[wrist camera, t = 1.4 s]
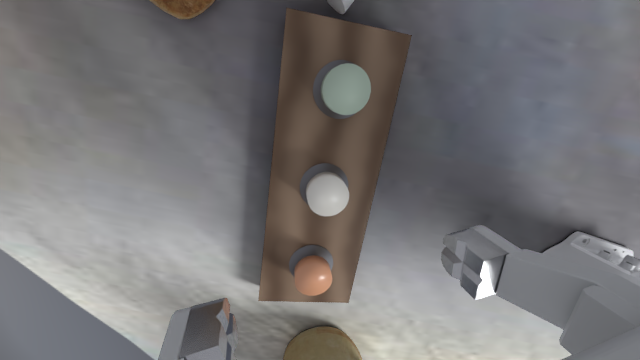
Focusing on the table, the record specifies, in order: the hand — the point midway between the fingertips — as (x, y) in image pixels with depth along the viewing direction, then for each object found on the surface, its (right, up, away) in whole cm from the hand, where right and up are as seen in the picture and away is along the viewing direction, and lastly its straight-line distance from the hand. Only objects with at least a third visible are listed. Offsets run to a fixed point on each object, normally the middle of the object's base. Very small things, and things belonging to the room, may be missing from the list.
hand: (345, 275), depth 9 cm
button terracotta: (-2, -9, +26) cm, 27 cm away
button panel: (-1, +4, +26) cm, 26 cm away
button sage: (+2, +13, +18) cm, 23 cm away
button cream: (0, +2, +22) cm, 22 cm away
